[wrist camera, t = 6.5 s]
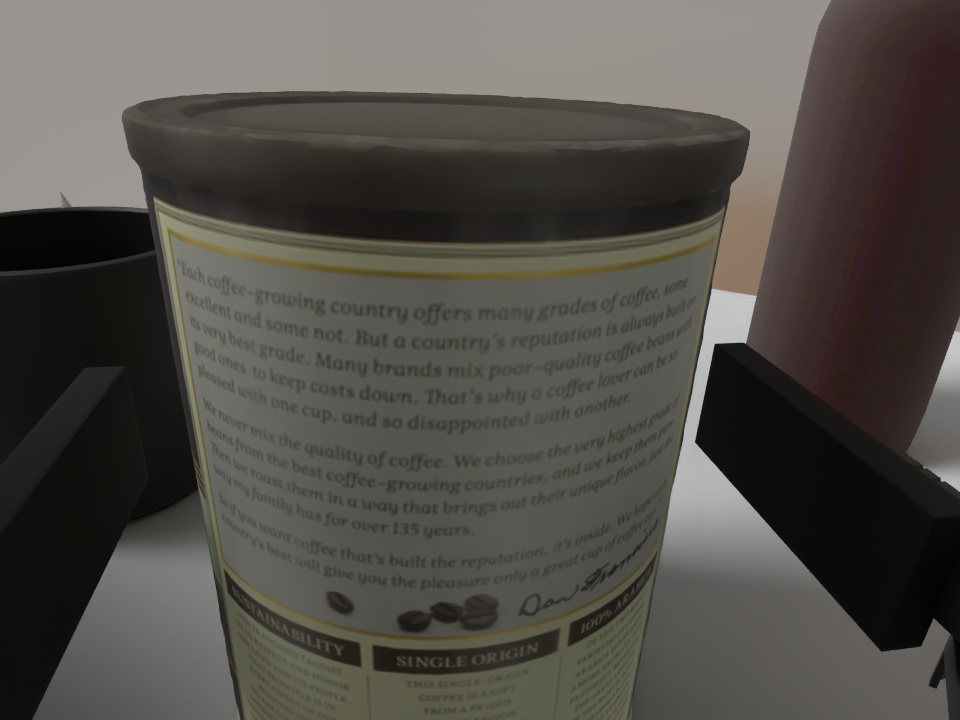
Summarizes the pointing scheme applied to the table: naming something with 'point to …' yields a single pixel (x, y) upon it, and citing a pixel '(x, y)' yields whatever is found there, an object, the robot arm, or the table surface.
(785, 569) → the table surface
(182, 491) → the mug
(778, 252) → the beer bottle
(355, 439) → the coffee can
